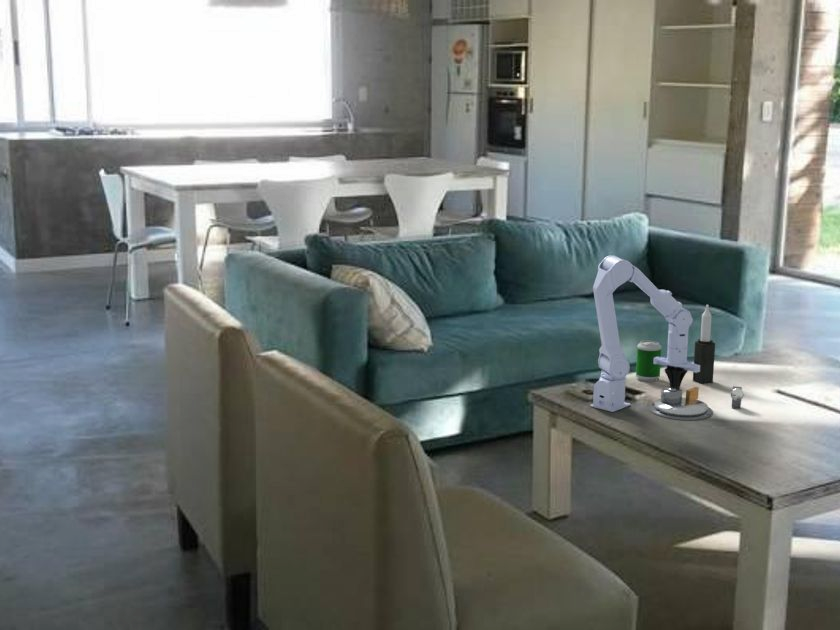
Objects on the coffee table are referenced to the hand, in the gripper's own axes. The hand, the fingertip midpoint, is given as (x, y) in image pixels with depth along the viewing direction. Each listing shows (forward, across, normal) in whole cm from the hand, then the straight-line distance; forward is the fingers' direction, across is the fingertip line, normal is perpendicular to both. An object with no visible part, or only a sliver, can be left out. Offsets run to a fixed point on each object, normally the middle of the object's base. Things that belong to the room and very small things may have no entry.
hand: (675, 391), depth 314 cm
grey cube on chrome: (+3, -16, -8) cm, 18 cm away
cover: (+1, -2, +6) cm, 7 cm away
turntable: (+3, -6, +6) cm, 9 cm away
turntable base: (+3, -6, +6) cm, 9 cm away
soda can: (+3, +19, -16) cm, 25 cm away
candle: (+3, +5, -26) cm, 26 cm away
